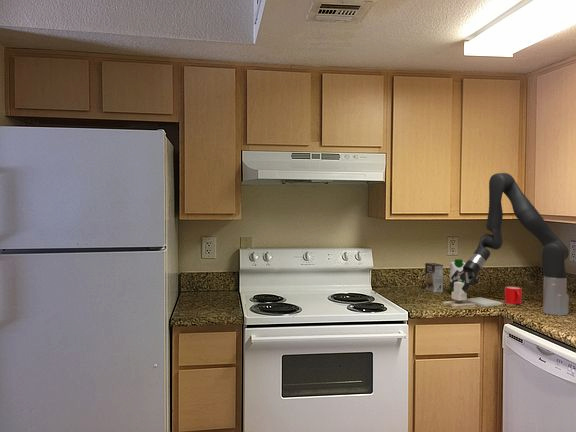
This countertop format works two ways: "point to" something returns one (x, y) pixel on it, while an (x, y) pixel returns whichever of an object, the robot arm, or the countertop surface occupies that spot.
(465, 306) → the post stand
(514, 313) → the countertop surface
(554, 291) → the robot arm
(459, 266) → the milk carton
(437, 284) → the coffee box
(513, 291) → the mug
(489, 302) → the tile
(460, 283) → the white stepped block
